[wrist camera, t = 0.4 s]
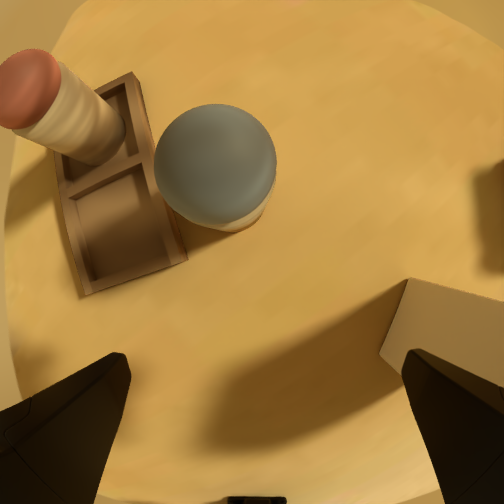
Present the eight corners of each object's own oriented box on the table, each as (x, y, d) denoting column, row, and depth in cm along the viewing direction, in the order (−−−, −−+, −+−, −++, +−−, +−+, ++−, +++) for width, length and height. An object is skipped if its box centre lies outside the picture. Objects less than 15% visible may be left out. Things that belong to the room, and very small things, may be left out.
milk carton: (377, 354, 22) (526, 498, 3) (408, 276, 21) (613, 333, 2) (432, 366, 22) (565, 468, 3) (460, 298, 22) (622, 351, 3)
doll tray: (188, 259, 21) (182, 261, 19) (97, 291, 21) (85, 295, 19) (139, 82, 21) (131, 71, 19) (62, 123, 21) (51, 116, 19)
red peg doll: (121, 163, 20) (12, 103, 7) (72, 168, 20) (-38, 128, 7) (130, 107, 20) (47, 20, 7) (82, 115, 20) (-10, 52, 7)
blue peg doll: (264, 233, 21) (284, 226, 9) (197, 231, 21) (126, 223, 9) (266, 167, 21) (286, 80, 8) (200, 166, 21) (142, 85, 8)
